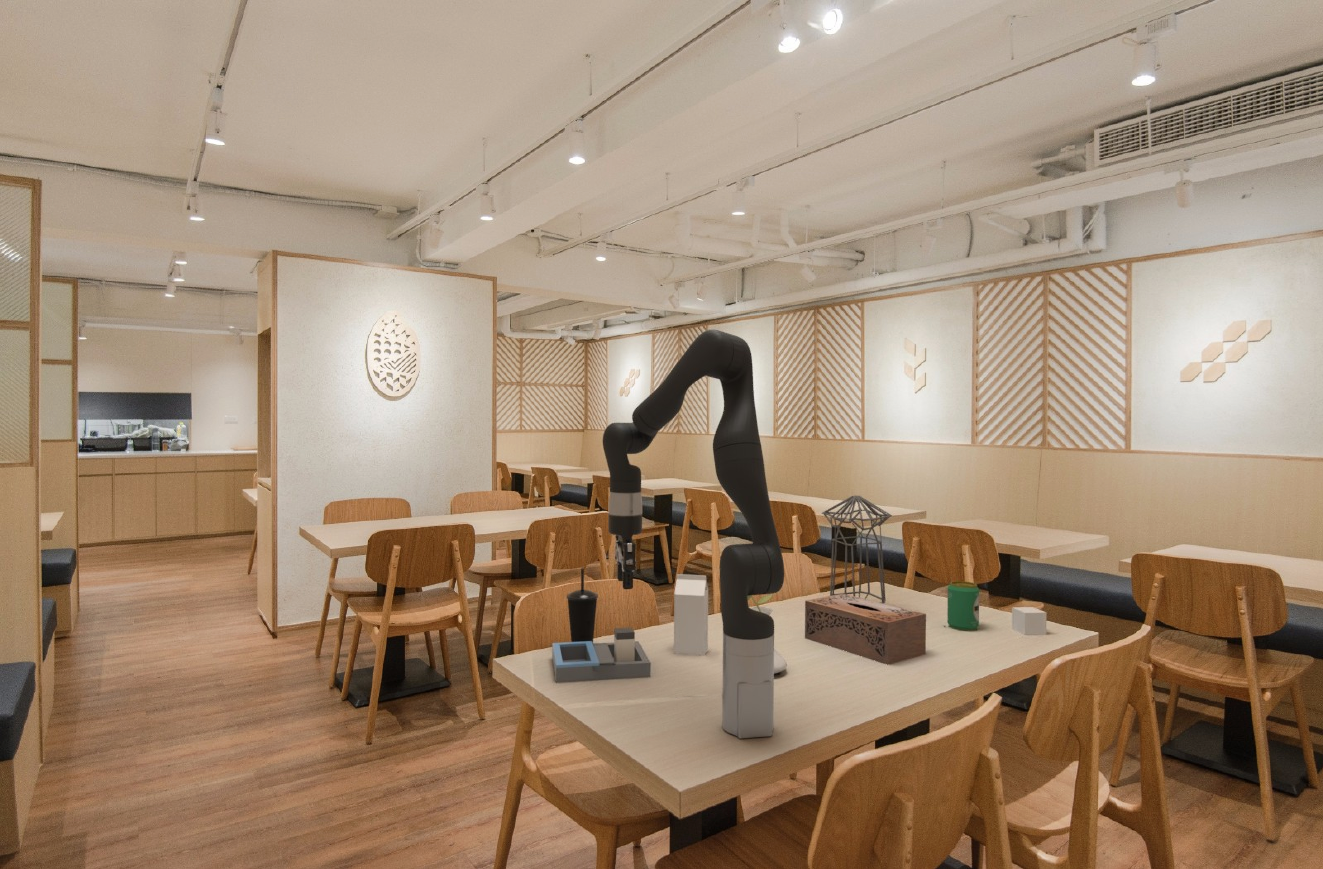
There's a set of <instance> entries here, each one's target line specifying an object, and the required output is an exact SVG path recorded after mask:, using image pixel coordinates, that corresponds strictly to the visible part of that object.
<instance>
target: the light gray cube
mask: <svg viewBox="0 0 1323 869" xmlns="http://www.w3.org/2000/svg"><path fill="white" fill-rule="evenodd" d="M1011 629H1012V630H1013V631H1015V632H1017V633H1020V634H1022V635H1023V636H1042V635H1043V636H1044V635H1045V636H1047V612H1046V611H1044V610H1041V609H1038V608H1037V607H1033V606H1023V607H1021V606H1018V607H1015V606H1014V607H1011Z"/></svg>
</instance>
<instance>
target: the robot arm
mask: <svg viewBox="0 0 1323 869" xmlns="http://www.w3.org/2000/svg"><path fill="white" fill-rule="evenodd" d="M673 366H674V367H672V369H671V370H670V372H668V373H669V374H667V376H666V377H665V379H664V380H663V381H662V382H661V384H659V386H658V387H656V389H655V390H654V391H653V392H652V393H651V394H649V395H648V396H647V397H646V398H645V399H643V401H642V402H640V403H639V404H638V405H637V407H635V408H634V410H633V412H632V414H631V416H632V417H631V419H632V422H612V423H610V424H608V425H607V426H606V428H605V430H604V432H603V435H602V446H603V452H604V456H605V460H606V463H607V468H608V472H609V498H608V519H607V520H608V523H607V525H608V526H607V527H608V528H607V529H608V533H609V534H611V535H612V536H613V535H615V543H614V545H615V556H614V557H615V560H616V561H615V562H616V564H617V565H616V568H617V570H616V571H617V573H616V574H617V576H616V577H617V581H618V582H622V588H623V590H632V589H633V588H634V572H635V571H636V569H637V566H636V546H637V544H636V542H634V540H633V536H636V535H640V534H642V533H643V498H642V470H641V468H640V467H639V466H637V465H634V464H631V463H630V460H629V457H628V455H636V454H640V453H642V452H644V451H645V450H647V449H648V448H649V446H650V445H651V444H652V442H653V441H654V439H655V438H656V436H657V434H658V432H659V431H660V430H661V429H663V428H664V427H665V426H666V425H667V424H669V423H670V422H671V421H672V420H673V419H674V418H675V417H676V416H677V415H678V413H679V412H680V410H681V409H682V406H683V404H684V401H685V397H686V394H687V392H688V390H689V388H690V387H691V386H693V384H695V383H696V382H698V381H699V380H700V379H702V378H705V377H708V378H713V379H716V380H719V382H720V384H721V390H722V396H723V397H722V398H723V411H722V414H721V417H720V420H719V422H718V424H717V428H716V430H715V433H714V435H713V440H712V452H713V454H712V455H713V460H714V461H713V462H714V466H715V468H714V469H715V474H716V475H715V476H716V478H717V481H718V483H719V484H720V486H721V487H722V489H723V490H724V492H725V493H726V494H727V496H728V497H729V498H730V500H731V501H732V502H733V503H734V504H735V506H736V507H737V508H738V510H739V511H740V513H741V514H742V516H743V517H744V519H745V521H746V524H747V525H748V530H749V533H750V535H751V541H752V543H743V544H742V543H736V544H730V545H726V546H725V547H724V548H723V550H722V551H721V554H720V560H719V590H720V614H721V620H722V621H721V622H722V690H721V691H722V694H721V696H722V699H721V700H722V702H721V704H722V707H721V708H722V709H721V710H722V712H721V714H722V715H721V718H722V719H721V723H722V724H721V725H722V728H723V730H724V731H725V732H727V733H728V734H731V735H733V736H735V737H737V738H739V739H750V738H751V739H752V738H762V737H772V736H773V732H774V731H773V730H774V726H775V725H774V723H775V722H774V714H775V713H774V710H775V708H774V704H775V703H774V700H775V699H774V698H775V697H774V696H775V694H774V691H775V690H774V689H775V687H774V686H775V682H774V680H775V675H774V649H775V621H774V618H773V617H772V616H771V615H767V614H765V613H762V612H759V611H755V610H752V609H751V607H749V602H748V601H749V600H748V599H747V596H750V595H752V596H758V595H759V596H760V595H763V596H764V595H771V594H773V595H774V594H776V593H778V592H780V590H781V589H782V588H783V585H784V581H785V563H784V558H783V554H782V553H783V552H782V549H781V545H780V541H779V538H778V537H779V536H778V533H777V532H778V531H777V529H776V524H775V520H774V516H773V512H772V508H771V503H770V496H769V490H768V485H767V477H766V470H765V468H766V467H765V462H764V454H763V448H762V443H761V438H760V434H759V426H758V418H757V410H756V403H755V402H756V401H755V390H754V371H753V370H754V369H753V368H754V367H753V357H752V352H751V349H750V346H749V343H748V342H747V341H746V340H744V339H743V338H742V337H740V336H737V335H734V334H731V333H728V332H724V331H723V330H722V331H721V330H719V329H706V330H705V331H703V332H702V333H700V334H699V335H698V336H697V337H696V338H695V339H694V340H693V342H692V343H691V344H690V345H689V347H688V348H687V349H686V350H685V352H684V353H683V354H682V356H681V357H680V358H679V360H678V361H677V362H676V364H675V365H673Z"/></svg>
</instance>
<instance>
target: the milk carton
mask: <svg viewBox="0 0 1323 869" xmlns="http://www.w3.org/2000/svg"><path fill="white" fill-rule="evenodd" d="M675 581H676V582H675V588H674V593H673V598H674V599H673V602H674V603H673V607H674V608H673V654H677V655H692V656H694V655H695V656H704V655H706V654H707V651H708V650H709V643H708V642H709V588H708V581H707V575H702V574H700V575H699V574H684V573H683V574H682V573H681V574H679V573H677V574H676V580H675Z"/></svg>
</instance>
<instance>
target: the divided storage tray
mask: <svg viewBox="0 0 1323 869" xmlns="http://www.w3.org/2000/svg"><path fill="white" fill-rule="evenodd" d="M551 653H552V664H553V672H554V679H555V683H557V684H558V683H572V682H573V683H574V682H575V683H576V682H587V681H590V682H591V681H602V680H603V681H605V680H621V679H622V680H623V679H637V678H638V679H639V678H640V679H641V678H651V666H652V665H651V661H650V659H649V658H648V656H647V653H646V652H645V650H644V649H643V646H642V645H641V643H640V642H639V640H638V641H636V640H635V661H631V662H614V642H600V643H599V642H597V643H594V642H593V644H592V641H583V642H571V641H567V642H552V652H551Z"/></svg>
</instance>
